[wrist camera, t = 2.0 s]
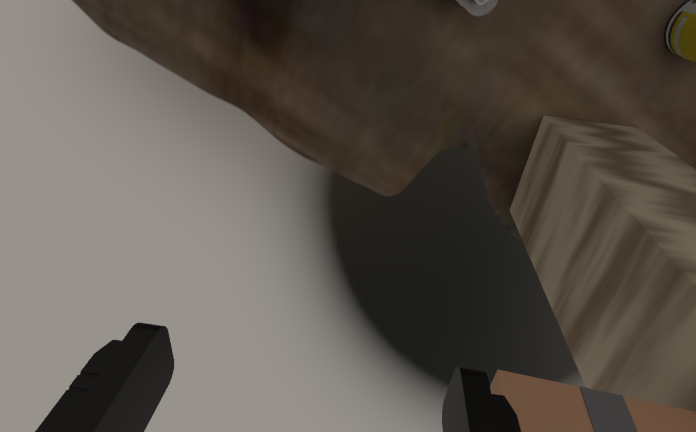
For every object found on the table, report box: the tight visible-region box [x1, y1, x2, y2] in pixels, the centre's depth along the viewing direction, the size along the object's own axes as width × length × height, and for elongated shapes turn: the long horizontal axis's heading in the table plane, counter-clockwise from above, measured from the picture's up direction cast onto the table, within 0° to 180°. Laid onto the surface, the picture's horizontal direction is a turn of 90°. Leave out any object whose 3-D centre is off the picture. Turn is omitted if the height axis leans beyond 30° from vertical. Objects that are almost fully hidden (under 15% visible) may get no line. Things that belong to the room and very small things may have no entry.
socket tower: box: [510, 115, 696, 412], centre depth 32 cm, size 10×12×37 cm
